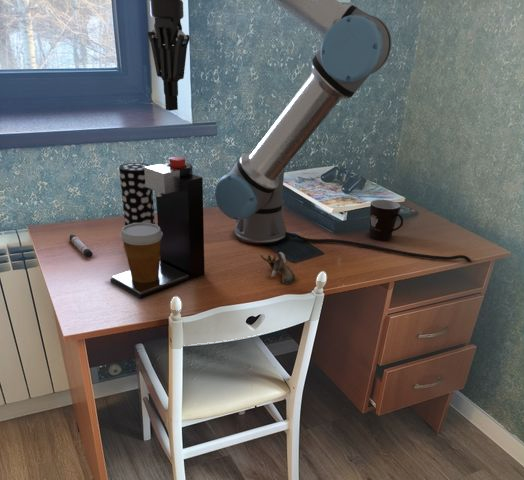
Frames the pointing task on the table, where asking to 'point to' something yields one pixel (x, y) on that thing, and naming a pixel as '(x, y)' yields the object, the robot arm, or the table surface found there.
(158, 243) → the disposable coffee cup
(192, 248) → the tower
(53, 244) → the table surface
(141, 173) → the spotted tube
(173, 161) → the button
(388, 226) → the coffee mug
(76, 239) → the marker
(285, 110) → the robot arm
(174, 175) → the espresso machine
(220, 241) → the table surface
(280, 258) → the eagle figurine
